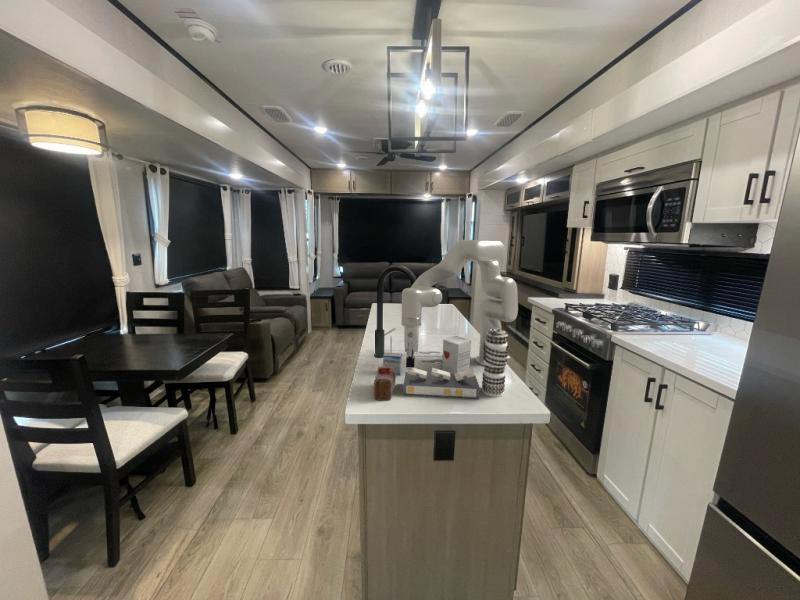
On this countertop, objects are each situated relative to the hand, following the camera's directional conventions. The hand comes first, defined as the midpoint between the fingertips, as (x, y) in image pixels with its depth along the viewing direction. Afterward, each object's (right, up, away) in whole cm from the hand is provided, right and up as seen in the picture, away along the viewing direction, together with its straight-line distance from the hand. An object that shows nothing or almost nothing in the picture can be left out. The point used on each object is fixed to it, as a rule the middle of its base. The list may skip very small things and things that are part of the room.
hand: (410, 366), depth 124 cm
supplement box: (+21, -6, +20) cm, 30 cm away
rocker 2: (+12, -3, -1) cm, 12 cm away
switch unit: (+12, -10, +1) cm, 15 cm away
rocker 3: (+21, -3, -1) cm, 21 cm away
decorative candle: (+32, -10, +1) cm, 34 cm away
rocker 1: (+3, -2, 0) cm, 4 cm away
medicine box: (-7, -7, +17) cm, 20 cm away
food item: (-10, -10, 0) cm, 14 cm away
